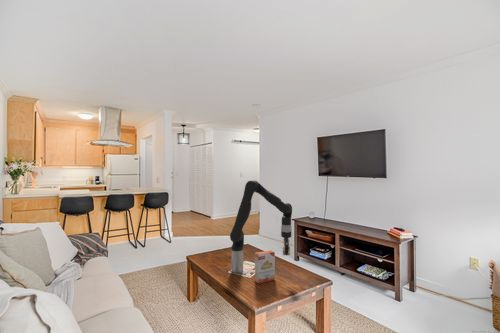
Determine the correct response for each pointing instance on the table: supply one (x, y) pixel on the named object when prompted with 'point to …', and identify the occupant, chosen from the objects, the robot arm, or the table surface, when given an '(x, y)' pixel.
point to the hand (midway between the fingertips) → (286, 253)
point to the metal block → (284, 250)
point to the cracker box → (264, 266)
